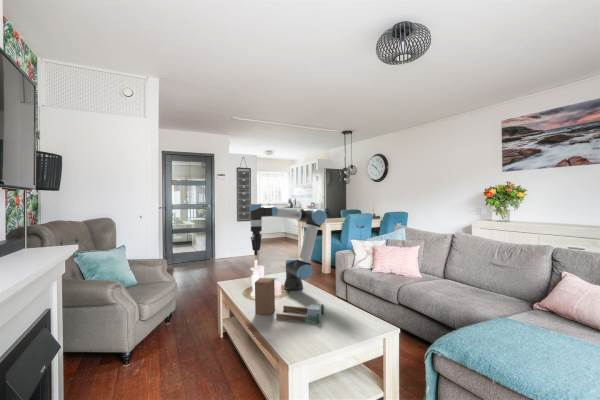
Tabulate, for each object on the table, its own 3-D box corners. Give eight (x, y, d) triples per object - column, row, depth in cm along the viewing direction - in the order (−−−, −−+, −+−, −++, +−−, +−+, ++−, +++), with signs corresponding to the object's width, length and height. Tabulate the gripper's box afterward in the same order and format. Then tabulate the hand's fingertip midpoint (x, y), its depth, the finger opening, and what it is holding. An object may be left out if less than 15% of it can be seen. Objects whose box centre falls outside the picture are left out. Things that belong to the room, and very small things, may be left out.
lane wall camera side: (277, 318, 170) (276, 308, 170) (319, 322, 163) (319, 312, 163) (276, 319, 169) (276, 309, 169) (318, 324, 161) (318, 313, 161)
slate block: (310, 315, 173) (310, 304, 173) (321, 316, 171) (321, 305, 171) (307, 320, 166) (307, 308, 166) (319, 321, 165) (318, 309, 164)
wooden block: (270, 315, 175) (269, 282, 174) (255, 314, 177) (254, 282, 176) (275, 308, 184) (274, 278, 184) (260, 307, 186) (259, 277, 186)
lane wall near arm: (284, 310, 182) (284, 300, 182) (323, 314, 175) (323, 304, 174) (283, 310, 181) (283, 301, 181) (323, 315, 173) (323, 305, 173)
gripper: (255, 224, 204) (255, 257, 204) (246, 226, 191) (247, 261, 192) (264, 224, 202) (265, 257, 202) (256, 226, 189) (257, 262, 190)
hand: (256, 259), depth 197 cm, fingers closed
